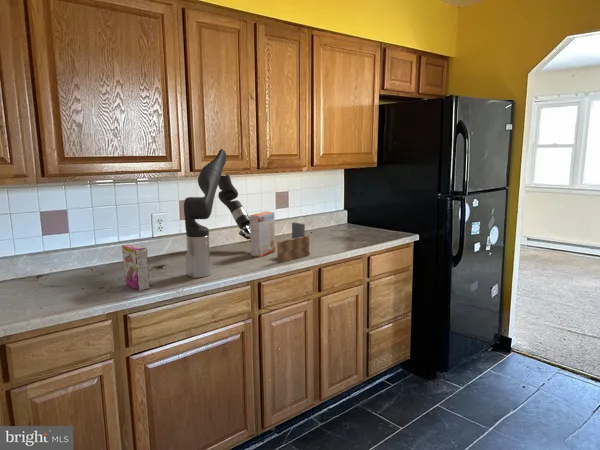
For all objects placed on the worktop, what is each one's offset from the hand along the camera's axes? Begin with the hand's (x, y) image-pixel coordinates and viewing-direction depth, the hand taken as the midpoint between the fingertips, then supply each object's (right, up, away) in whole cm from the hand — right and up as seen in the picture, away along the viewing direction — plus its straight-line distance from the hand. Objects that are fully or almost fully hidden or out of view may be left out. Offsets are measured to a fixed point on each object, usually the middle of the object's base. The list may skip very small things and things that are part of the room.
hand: (256, 244), depth 222 cm
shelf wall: (+19, -7, -13) cm, 24 cm away
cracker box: (+3, -5, -2) cm, 7 cm away
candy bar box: (-41, -15, -54) cm, 70 cm away
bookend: (+23, -5, -3) cm, 24 cm away
